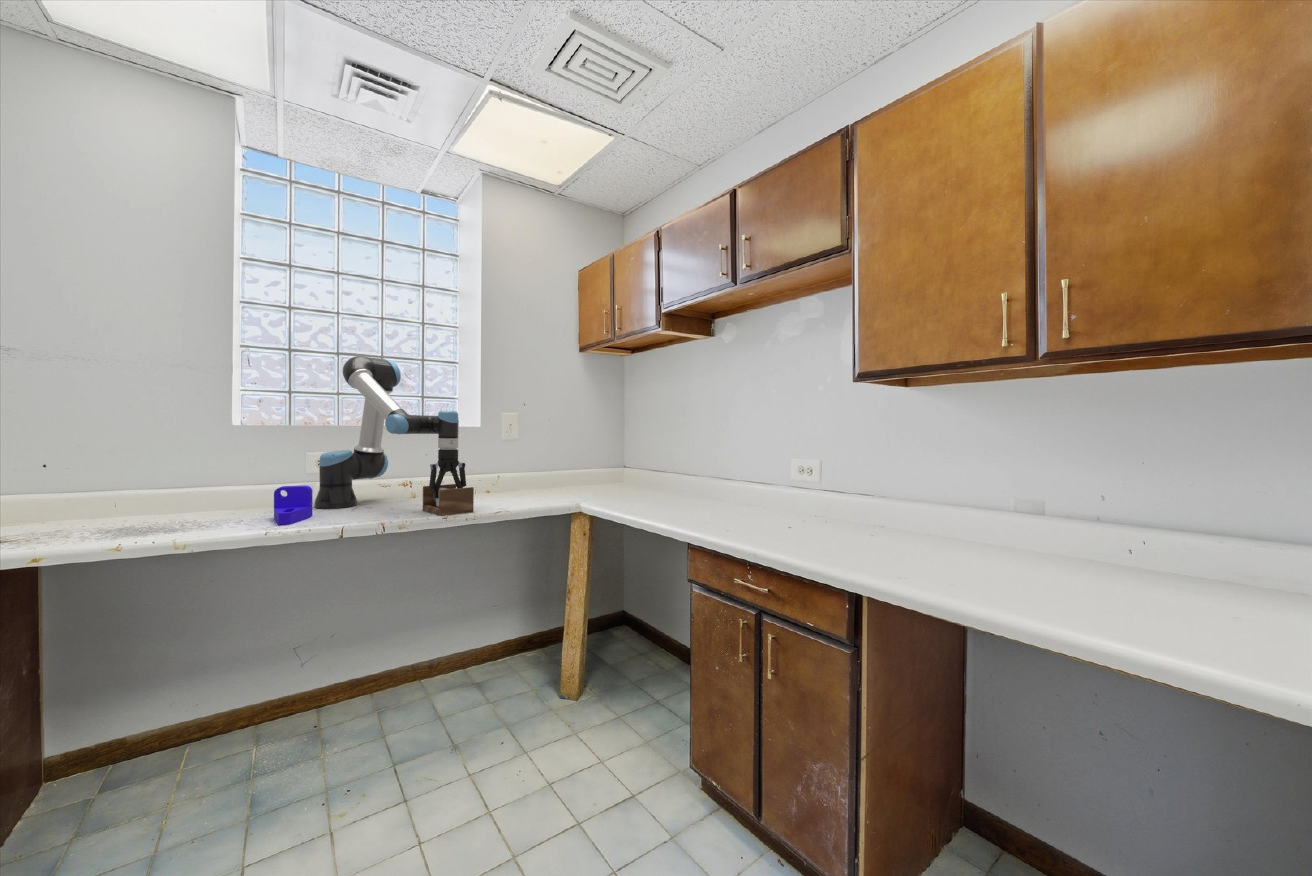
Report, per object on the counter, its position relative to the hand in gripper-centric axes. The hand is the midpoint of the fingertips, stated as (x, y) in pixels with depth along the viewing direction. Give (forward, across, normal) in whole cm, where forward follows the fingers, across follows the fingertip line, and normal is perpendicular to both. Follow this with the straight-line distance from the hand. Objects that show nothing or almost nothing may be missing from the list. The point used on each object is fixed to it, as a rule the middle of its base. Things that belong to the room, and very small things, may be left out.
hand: (447, 505), depth 200 cm
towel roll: (0, 0, 0) cm, 0 cm away
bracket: (+3, -49, +19) cm, 53 cm away
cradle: (+3, 0, 0) cm, 3 cm away
